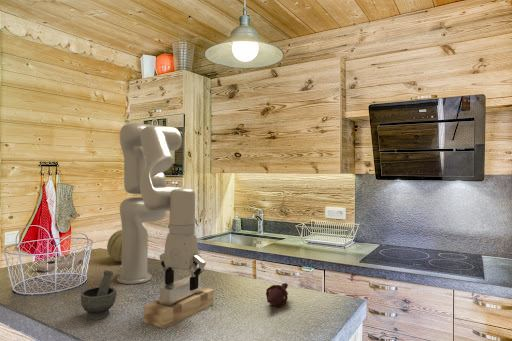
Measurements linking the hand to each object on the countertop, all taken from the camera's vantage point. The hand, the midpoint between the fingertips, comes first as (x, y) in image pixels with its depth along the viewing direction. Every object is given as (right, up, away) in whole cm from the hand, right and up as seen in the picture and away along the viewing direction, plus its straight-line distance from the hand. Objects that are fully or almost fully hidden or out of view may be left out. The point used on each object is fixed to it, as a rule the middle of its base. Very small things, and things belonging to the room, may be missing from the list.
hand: (181, 286), depth 112 cm
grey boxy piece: (0, -7, 0) cm, 7 cm away
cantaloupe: (-38, -7, +58) cm, 70 cm away
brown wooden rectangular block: (0, -8, 0) cm, 8 cm away
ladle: (-60, -7, +49) cm, 78 cm away
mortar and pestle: (-24, -8, -2) cm, 25 cm away
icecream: (+29, -9, +6) cm, 31 cm away
